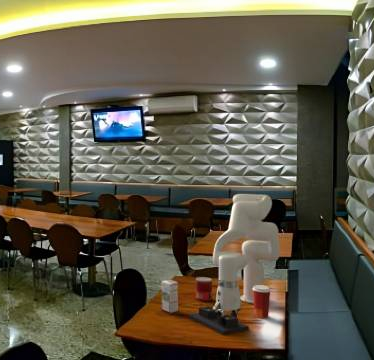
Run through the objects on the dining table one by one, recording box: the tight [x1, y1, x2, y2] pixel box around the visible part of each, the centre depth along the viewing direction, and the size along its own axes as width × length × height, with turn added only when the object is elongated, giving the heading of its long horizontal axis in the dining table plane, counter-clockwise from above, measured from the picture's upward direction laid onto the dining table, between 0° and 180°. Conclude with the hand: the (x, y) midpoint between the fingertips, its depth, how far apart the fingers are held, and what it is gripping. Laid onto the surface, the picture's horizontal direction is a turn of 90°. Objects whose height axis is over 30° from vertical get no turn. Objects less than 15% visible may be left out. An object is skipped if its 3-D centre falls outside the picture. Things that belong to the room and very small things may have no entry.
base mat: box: [188, 309, 250, 336], centre depth 201 cm, size 14×22×4 cm, turn 21°
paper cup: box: [253, 285, 272, 319], centre depth 209 cm, size 8×8×14 cm
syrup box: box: [161, 279, 179, 314], centre depth 219 cm, size 6×6×14 cm
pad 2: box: [217, 313, 239, 328], centre depth 195 cm, size 6×6×4 cm
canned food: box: [195, 276, 213, 302], centre depth 235 cm, size 8×8×11 cm
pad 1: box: [198, 305, 218, 319], centre depth 206 cm, size 6×6×4 cm
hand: (227, 323), depth 195 cm, fingers closed on pad 2, 6 cm apart
